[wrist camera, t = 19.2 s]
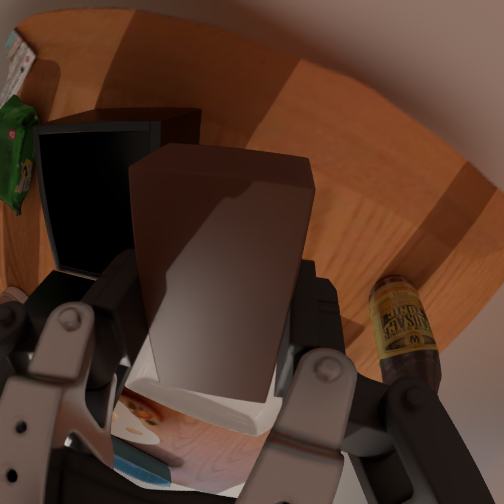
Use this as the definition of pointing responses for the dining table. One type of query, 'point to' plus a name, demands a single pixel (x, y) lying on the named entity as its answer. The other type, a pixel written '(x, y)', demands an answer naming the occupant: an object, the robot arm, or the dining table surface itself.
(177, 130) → the waste bin
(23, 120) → the snack package
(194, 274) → the chocolate bar
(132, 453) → the casserole dish
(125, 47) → the dining table surface
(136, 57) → the dining table surface
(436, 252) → the dining table surface
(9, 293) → the fruit juice
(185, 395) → the square plate
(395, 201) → the dining table surface
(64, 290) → the bin lid
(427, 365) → the sauce bottle
